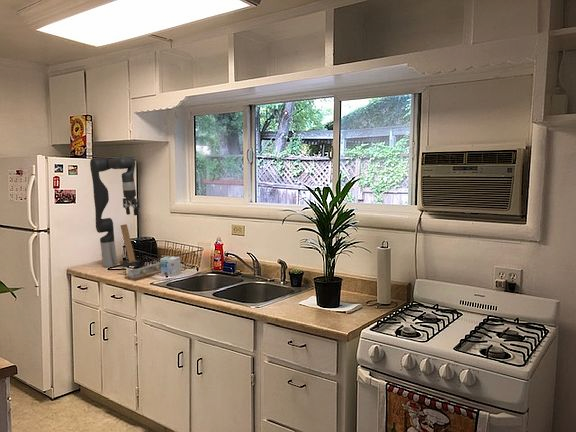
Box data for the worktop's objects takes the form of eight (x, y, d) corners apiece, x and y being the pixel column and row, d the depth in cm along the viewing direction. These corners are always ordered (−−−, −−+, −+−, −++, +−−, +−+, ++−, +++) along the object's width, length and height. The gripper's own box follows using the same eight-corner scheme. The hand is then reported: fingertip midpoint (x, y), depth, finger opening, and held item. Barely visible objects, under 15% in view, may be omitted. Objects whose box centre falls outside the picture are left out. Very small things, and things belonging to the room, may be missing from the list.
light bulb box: (161, 275, 297) (159, 258, 295) (166, 272, 303) (165, 256, 302) (176, 276, 294) (174, 259, 292) (181, 273, 300) (180, 256, 298)
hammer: (121, 270, 326) (111, 227, 325) (127, 268, 330) (117, 226, 329) (139, 267, 315) (129, 223, 313) (145, 265, 319) (135, 222, 317)
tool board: (124, 278, 296) (123, 271, 295) (161, 267, 316) (160, 261, 316) (135, 281, 288) (134, 273, 288) (172, 270, 309) (171, 263, 308)
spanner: (128, 276, 294) (128, 270, 294) (162, 266, 313) (162, 261, 313) (133, 277, 291) (132, 271, 291) (167, 267, 310) (166, 262, 310)
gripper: (117, 189, 299) (120, 215, 302) (130, 190, 290) (133, 216, 293) (128, 188, 305) (131, 213, 307) (140, 188, 296) (143, 214, 298)
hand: (132, 214), depth 300 cm, fingers open, 8 cm apart
